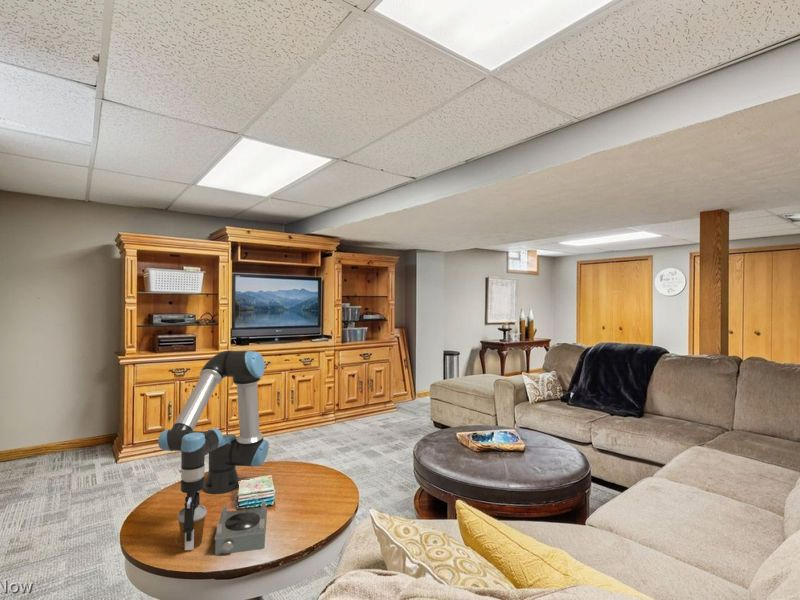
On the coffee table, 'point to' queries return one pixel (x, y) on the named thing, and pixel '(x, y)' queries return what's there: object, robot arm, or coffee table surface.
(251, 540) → the hot plate
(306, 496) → the coffee table surface
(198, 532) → the disposable coffee cup
